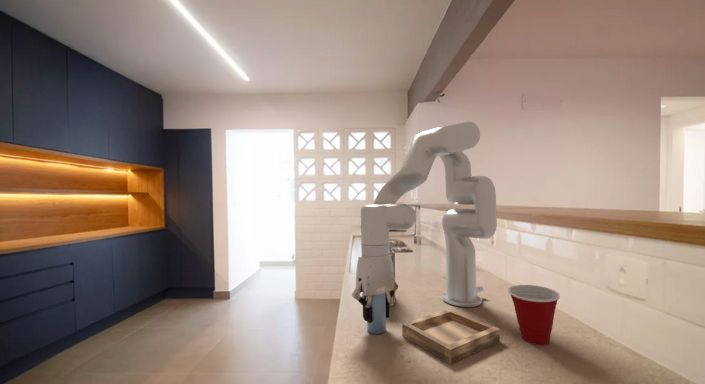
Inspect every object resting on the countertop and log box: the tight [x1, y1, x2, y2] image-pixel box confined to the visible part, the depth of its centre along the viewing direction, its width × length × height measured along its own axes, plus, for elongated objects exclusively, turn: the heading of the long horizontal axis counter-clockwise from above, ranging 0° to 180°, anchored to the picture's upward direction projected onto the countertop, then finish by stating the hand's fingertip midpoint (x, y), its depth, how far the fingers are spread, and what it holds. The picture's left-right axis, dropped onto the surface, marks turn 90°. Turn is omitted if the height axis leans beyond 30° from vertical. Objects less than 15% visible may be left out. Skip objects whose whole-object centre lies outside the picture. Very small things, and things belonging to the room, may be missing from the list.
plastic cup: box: [507, 284, 560, 346], centre depth 69 cm, size 11×11×12 cm
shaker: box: [366, 287, 387, 335], centre depth 74 cm, size 5×5×12 cm
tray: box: [401, 308, 501, 365], centre depth 69 cm, size 18×15×3 cm
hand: (376, 317), depth 74 cm, fingers closed on shaker, 5 cm apart
